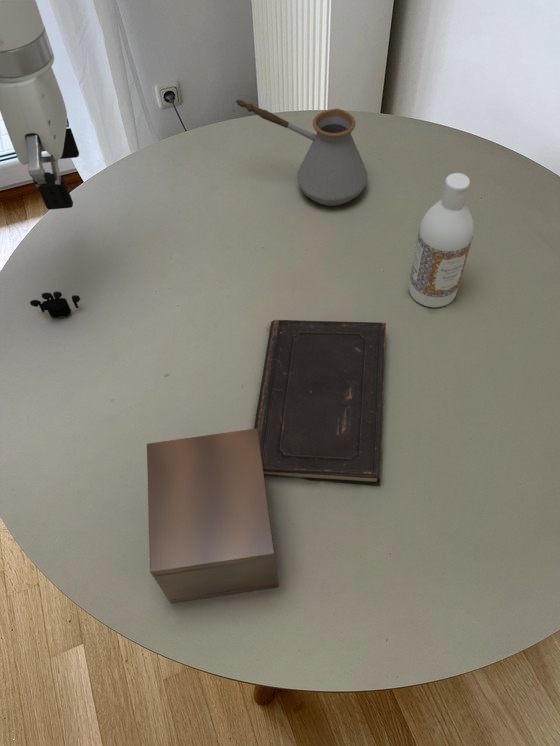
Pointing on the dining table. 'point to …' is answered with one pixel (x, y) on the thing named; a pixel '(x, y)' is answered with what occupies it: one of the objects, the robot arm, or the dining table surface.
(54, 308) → the wireless earbuds
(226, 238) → the dining table surface
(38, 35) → the robot arm
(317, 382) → the hardcover book
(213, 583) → the bronze lidded case
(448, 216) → the bath foam
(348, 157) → the coffee pot
